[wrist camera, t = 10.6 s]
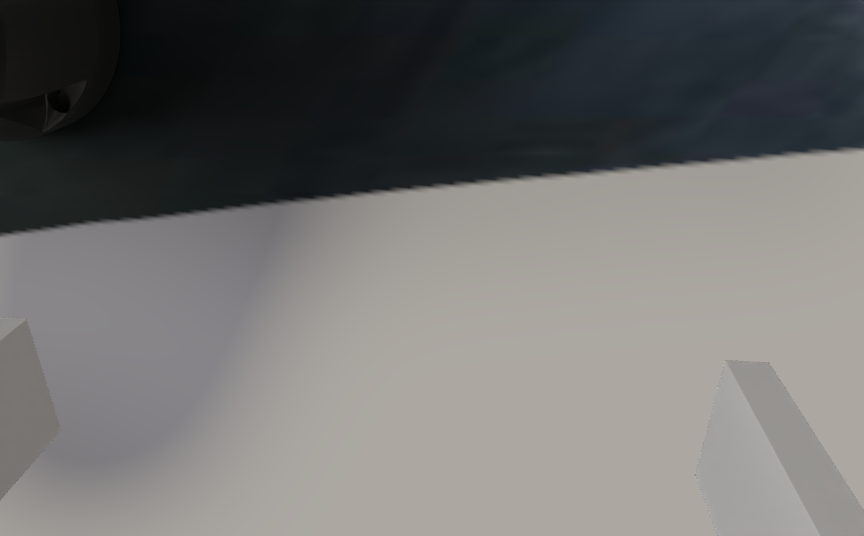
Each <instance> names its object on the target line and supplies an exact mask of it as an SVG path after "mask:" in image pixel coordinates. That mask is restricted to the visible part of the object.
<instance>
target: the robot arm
mask: <svg viewBox="0 0 864 536" xmlns="http://www.w3.org/2000/svg"><path fill="white" fill-rule="evenodd" d="M120 37H121V30H120V16H119V9H118V4H117V0H0V141H17V140H25V139H31V138H36V137H39V136H43V135H45V134H48V133H50V132H53V131H55V130H58V129H60V128H63V127H65V126H68V125H70V124H72V123H74V122H76V121H77V120H79V119H81V118H82V117H84V116H85V115H86V114H87V113H89V112H90V111H91V110H92V109H93V108H94V107H95V106H96V105H97V103H98V102H99V101H100V100H101V98H102V97H103V96H104V94H105V92H106V91H107V89H108V87H109V85H110V83H111V81H112V78H113V76H114V73H115V70H116V66H117V63H118V57H119V51H120ZM60 431H61V428H60V424H59V421H58V418H57V415H56V412H55V408H54V405H53V402H52V399H51V396H50V393H49V389H48V386H47V383H46V379H45V376H44V373H43V370H42V367H41V363H40V360H39V357H38V354H37V351H36V347H35V344H34V341H33V338H32V334H31V331H30V328H29V325H28V321H27V319H22V318H5V317H0V500H1V499H2V498H3V497H4V495H5V494H6V493H7V492H8V491H9V490H10V489H11V487H12V486H13V485H14V484H15V483H16V481H17V480H18V479H19V478H20V477H21V476H22V475H23V474H24V472H25V471H26V470H27V469H28V468H29V467H30V465H31V464H32V463H33V462H34V461H35V460H36V458H37V457H38V456H39V455H40V454H41V453H42V451H43V450H44V449H45V448H46V447H47V446H48V444H50V442H51V441H52V440H53V439H54V438H55V437H56V435H57V434H58V433H59V432H60ZM695 476H696V479H697V482H698V484H699V487H700V490H701V492H702V495H703V498H704V500H705V503H706V506H707V509H708V511H709V514H710V517H711V519H712V522H713V525H714V527H715V530H716V533H717V536H864V510H863V508H862V507H861V505H860V504H859V502H858V501H857V499H856V498H855V496H854V494H853V493H852V491H851V490H850V488H849V487H848V485H847V483H846V482H845V480H844V479H843V477H842V476H841V474H840V473H839V471H838V469H837V468H836V466H835V465H834V463H833V462H832V460H831V459H830V457H829V455H828V454H827V452H826V451H825V449H824V448H823V446H822V444H821V443H820V441H819V440H818V438H817V437H816V435H815V433H814V432H813V430H812V429H811V427H810V426H809V424H808V423H807V421H806V420H805V418H804V416H803V415H802V413H801V412H800V410H799V408H798V407H797V405H796V404H795V402H794V401H793V399H792V398H791V396H790V394H789V393H788V391H787V390H786V388H785V387H784V385H783V383H782V382H781V380H780V379H779V377H778V376H777V374H776V372H775V371H774V369H773V368H772V366H771V365H770V363H767V362H766V363H765V362H750V361H749V362H748V361H732V360H725V363H724V367H723V371H722V374H721V378H720V382H719V386H718V389H717V393H716V397H715V401H714V405H713V408H712V412H711V416H710V420H709V424H708V427H707V431H706V435H705V439H704V442H703V446H702V450H701V454H700V458H699V461H698V465H697V469H696V473H695Z"/></svg>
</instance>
